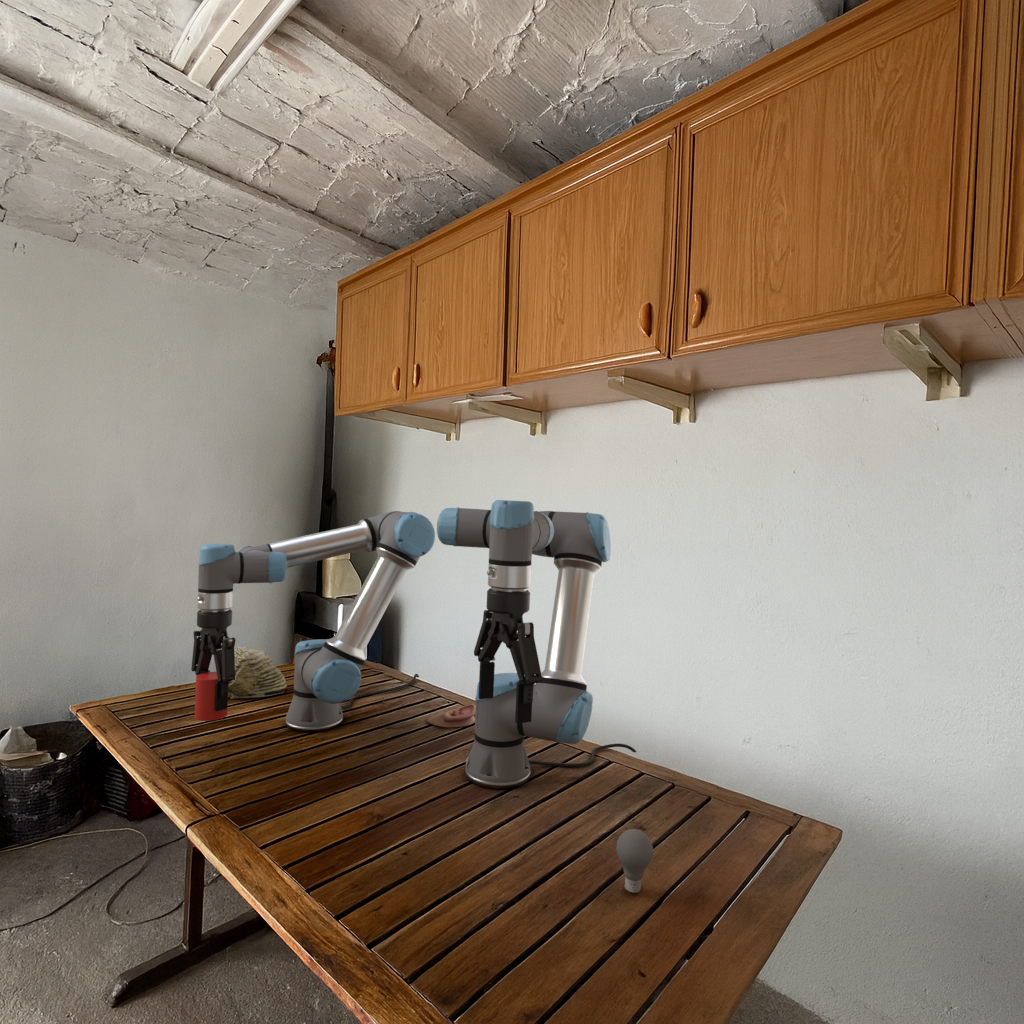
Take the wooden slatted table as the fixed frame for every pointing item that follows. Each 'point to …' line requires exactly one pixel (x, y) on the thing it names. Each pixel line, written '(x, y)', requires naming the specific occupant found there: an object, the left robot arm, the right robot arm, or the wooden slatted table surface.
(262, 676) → the fossil
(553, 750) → the wooden slatted table surface
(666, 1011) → the wooden slatted table surface
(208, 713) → the cylinder
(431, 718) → the anatomical model
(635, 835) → the light bulb
